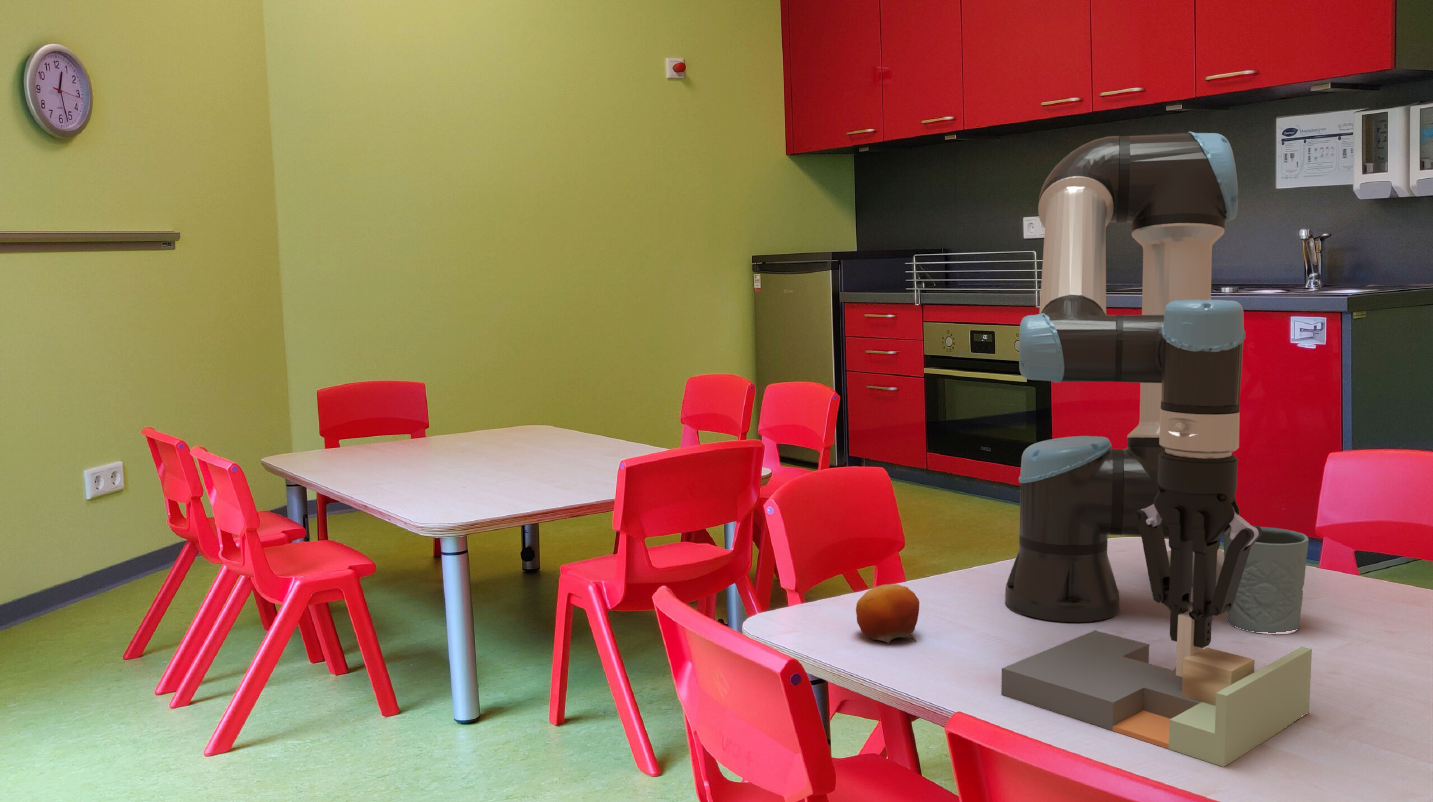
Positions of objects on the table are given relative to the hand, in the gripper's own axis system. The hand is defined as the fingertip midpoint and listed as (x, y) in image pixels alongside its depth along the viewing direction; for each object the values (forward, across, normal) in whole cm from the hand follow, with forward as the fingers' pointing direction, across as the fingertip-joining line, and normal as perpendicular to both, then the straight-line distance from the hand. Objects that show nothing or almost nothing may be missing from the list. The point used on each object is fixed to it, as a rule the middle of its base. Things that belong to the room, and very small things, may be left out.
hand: (1188, 673), depth 120 cm
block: (+2, +3, 0) cm, 4 cm away
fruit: (+5, -38, -4) cm, 39 cm away
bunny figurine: (+5, -22, +48) cm, 53 cm away
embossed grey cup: (+5, -8, +36) cm, 37 cm away
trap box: (+5, -4, 0) cm, 6 cm away
